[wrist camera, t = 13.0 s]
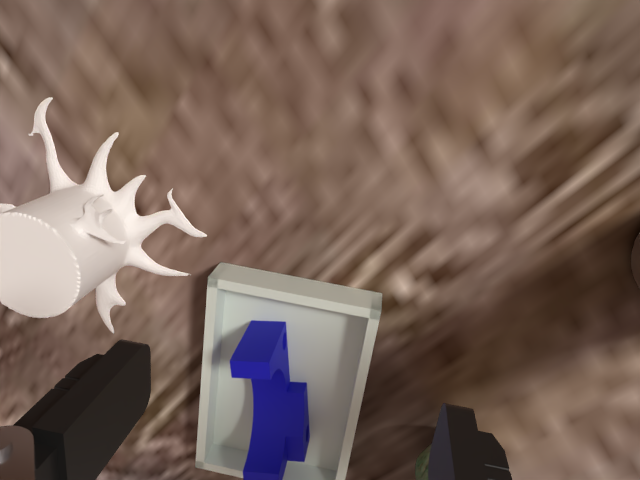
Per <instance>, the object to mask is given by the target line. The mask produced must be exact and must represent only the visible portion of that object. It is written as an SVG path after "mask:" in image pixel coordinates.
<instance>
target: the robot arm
mask: <svg viewBox="0 0 640 480" xmlns="http://www.w3.org/2000/svg"><path fill="white" fill-rule="evenodd" d="M631 268H632V273H633V277H634V279H635V281H636V283H637V285H638V287H639V288H640V232H639V234H638V236H637V238H636V240H635V242H634V246H633V249H632V253H631ZM150 392H151V363H150V347H149V345H147V344H142V343H137V342H132V341H127V340H119V341H118V342H117V343H116V344H115V345H114V346H113V347H112V348H111V349H110V350H109V351H108V352H107V353H106V354H105V355H100V354H96V355H94V356H92V357H90V358H88V359H86V360H84V361H82V362H80V363H78V364H77V365H76V366H75V367H74V368H73V369H72V370H71V371H70V372H69V373H68V374H67V375H66V376H65V379H64V378H63V379H62V380H61V381H59V382H58V383H57V384H56V385H55V387H54V389H51V390H50V391H49V392H48V393H47V394H46V395H45V396H44V397H43V398H42V399H40V400H39V401H38V402H37V403H36V404H35V405H34V406H33V407H32V408H31V409H30V410H29V411H28V412H27V413H26V414H25V415H24V416H23V417H21V418H20V419H19V420H18V421H17V422H16V423H15V424H14V425H13V426H1V427H0V480H95V479H96V478H97V477H98V475H99V474H100V473H101V471H102V470H103V468H104V467H105V466H106V464H107V463H108V462H109V460H110V459H111V457H112V456H113V455H114V453H115V452H116V451H117V449H118V448H119V446H120V445H121V444H122V442H123V441H124V439H125V438H126V437H127V435H128V434H129V433H130V431H131V430H132V428H133V427H134V426H135V424H136V423H137V422H138V420H139V419H140V417H141V416H142V415H143V413H144V411H145V409H146V407H147V405H148V402H149V398H150ZM428 480H512V477H511V474H510V472H509V466H508V462H507V458H506V454H505V451H504V449H503V448H502V446H501V445H500V444H499V442H498V441H497V440H496V438H495V437H494V436H493V434H491V433H486V432H481V431H478V429H477V424H476V419H475V414H474V411H473V409H471V408H465V407H460V406H455V405H450V404H445V403H444V404H443V405H442V407H441V410H440V414H439V418H438V422H437V426H436V430H435V434H434V438H433V441H432V445H431V450H430V455H429V464H428Z"/></svg>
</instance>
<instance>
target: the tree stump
mask: <svg viewBox="0 0 640 480" xmlns="http://www.w3.org/2000/svg"><path fill="white" fill-rule="evenodd" d="M52 99H53V98H47V99H45V100H44V101H42V102H41V103H40V104H39V106H38V108H37V110H36V112H35V116H34V128H33V131H32V133H31V134H28V135H30V136H32V135H33V133H40V134H41V136H42V138H43V140H44V144H45V148H46V164H47V169H48V175H49V181H50V193H49V194H48V195H45V196H43V197H40V198H38V199H35V200H33V201H30V202H28V203H25V204H23V205H20V206H18V207H15V206H14V205H11V204H0V301H1V303H2V304H3V305H5V306H8V308H9V309H11V310H14V311H15V312H19V314H23V315H26V316H28V317H33V318H34V317H37V318H48V317H54V316H57V315H60V314H61V313H63V312H65V311H66V310H68V309H69V308H70V307H71V306H73V305H74V304H75V303H77V302H78V301H79V300H80V299H82V298H83V297H84V296H86V295H87V294H88V293H89V292H91V291H92V290H93V289H96V305H97V309H98V312H99V314H100V316H101V318H102V319H103V321H104V323H105V324H106V326H107V327H108V328H109V330H110V331H111V332H112V333H114V329H113V326H112V324H111V321H110V309H111V308H112V307H113V306H114V305H121V306H124V305H125V304H126V303H125V301H124V300H123V299H122V298H121V296H120V295H119V293H118V292H117V289H116V284H115V277H116V273H117V271H118V270H119V269H120V268H122V267H123V266H134V267H137V268H140V269H143V270H146V271H148V272H152V273H155V274H159V275H167V276H187V275H188V274H187V273H184V272H180V271H176V270H172V269H168V268H166V267H163V266H161V265H159V264H157V263H156V262H154V261H153V260H152V259H151V258H150V257H149V256H148V255H147V254H146V253H145V252H144V251H143V250H142V248H141V243H142V241H143V240H144V239H145V238H146V237H147V236H148V235H150V234H151V233H152V232H153V231H154V230H156V229H157V228H158V227H159V226H160V225H163V224H166V223H167V224H171V225H174V226H175V227H177V228H179V229H181V230H183V231H184V232H186V233H188V234H189V235H192V236H194V237H207V235H206V234H205V233H203V232H201V231H198V230H197V229H195V228H194V227H193V226H192V225H191V223H190V222H189V221H188V220H187V219H186V217H185V216H184V214H183V213H182V212H181V210H180V209H179V207H178V206H177V204H176V203H175V202H174V200H173V199H172V196H171V194H172V189H173V188H172V189H171V190H170V191H169V192H168V195H167V198H168V200H169V203H170V205H171V209H170V210H166V211H160V212H157V213H154V214H152V215H148V216H143V217H141V216H139V215H138V214H137V213H136V210H135V204H134V199H135V193H136V191H137V189H138V187H139V185H140V184H141V183H142V181H143V180H144V178H145V177H146V175H140V176H138V177H136V178H134V179H133V180H131V181H130V182H129V183H127V184H126V185H125V186H124V187H122V188H121V189H120V190H119V191H117V192H113V191H112V190H111V188H110V186H109V183H108V180H107V175H106V162H107V156H108V153H109V150H110V148H111V146H112V144H113V142H114V140H115V139H116V138H117V137H118V134H119V132H116V133H114V134H113V135H112V136H110V137H109V138H108V139H107V140H106V141H105V143H103V144H102V146H101V147H100V149H99V150H98V152H97V153H96V155H95V157H94V159H93V161H92V164H91V167H90V170H89V172H88V176H87V178H86V180H85V182H84V183H83V184H81V185H78V184H76V183H74V182H73V181H72V180H70V179H69V177H68V176H67V175H66V174H65V173H64V171H63V170H62V168H61V167H60V165H59V163H58V160H57V155H56V151H55V146H54V143H53V140H52V136H51V134H50V131H49V129H48V127H47V124H46V120H45V113H46V109H47V106H48V105H49V102H51V101H52ZM189 275H190V274H189Z"/></svg>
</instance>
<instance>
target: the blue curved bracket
mask: <svg viewBox="0 0 640 480" xmlns="http://www.w3.org/2000/svg"><path fill="white" fill-rule="evenodd" d="M230 369H231V377H232V378H246V379H251V382H252V389H253V423H252V432H251V439H250V445H249V450H248V455H247V459H246V462H245V466H244V469H243V479H244V480H282V479H283V476H284V472H285V468H286V464H287V461H297V462H305V457H306V453H307V448H308V444H309V439H310V429H309V411H308V393H307V383H306V382H290V373H289V358H288V344H287V330H286V322H282V321H255V320H251V322H250V324H249V326H248V327H247V329H246V331H245V333H244V335H243V337H242V339H241V340H240V342H239V344H238V346H237V348H236V350H235V351H234V353H233V355H232V357H231V359H230Z"/></svg>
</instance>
